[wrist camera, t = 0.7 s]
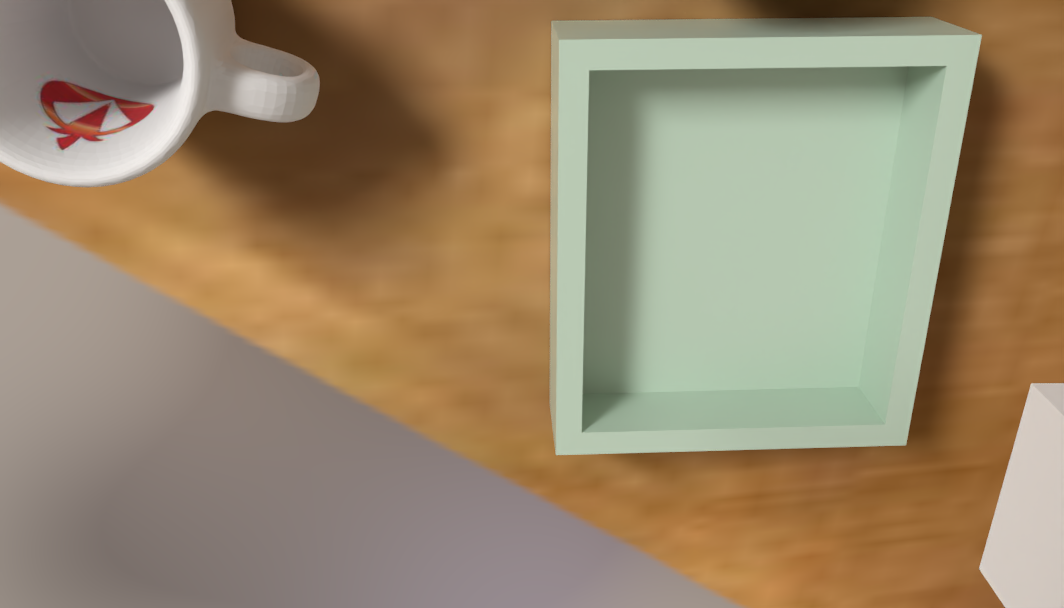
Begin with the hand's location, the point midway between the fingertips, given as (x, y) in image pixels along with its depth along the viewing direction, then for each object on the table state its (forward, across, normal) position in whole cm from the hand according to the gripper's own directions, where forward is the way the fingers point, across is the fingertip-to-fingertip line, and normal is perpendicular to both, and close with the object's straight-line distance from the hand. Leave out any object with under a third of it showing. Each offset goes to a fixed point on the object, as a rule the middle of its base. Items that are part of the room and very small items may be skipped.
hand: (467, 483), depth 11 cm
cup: (+27, -10, 0) cm, 29 cm away
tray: (+27, +10, -7) cm, 29 cm away
